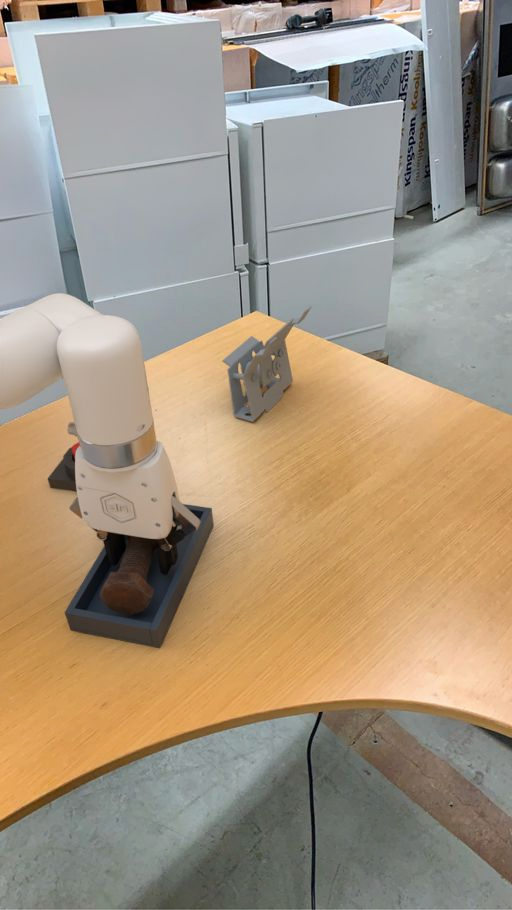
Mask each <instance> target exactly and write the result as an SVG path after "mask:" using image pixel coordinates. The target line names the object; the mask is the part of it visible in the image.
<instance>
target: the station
mask: <svg viewBox="0 0 512 910" xmlns="http://www.w3.org/2000/svg"><path fill="white" fill-rule="evenodd" d="M74 445H75V444H73V445H72V446H70V448H68V449H67V451H66V452H65V453H64V454H63V456H62V457H63V458H62V460H60V462H59V463H58V464H57V466H55V468H54V469H53V471H52V472H51V473H50V474H49V476H48V477H47V482H48V485H49V487H50V489H56V490H63V491H71V492H76V493H77V489H76V479H75V459H74V455H73V452H72V448H73V446H74Z"/></svg>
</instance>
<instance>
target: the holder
mask: <svg viewBox="0 0 512 910" xmlns="http://www.w3.org/2000/svg"><path fill="white" fill-rule="evenodd" d="M182 504H183V505H184V506H185V507H186V508H187V509H188V510H190V511H191V512H192V513H193V514H194V515H195V516H196V517H197V518H198V519H199V520H200V525H199V527H198V529H197V531H196V532H194V533H192V534H190V535H189V536H186V537H184V539H183V540H182V541H180V542H179V543H177V544H176V545H177V552H178V559H177V562H176V564H175V565H171V568H170V570H169V572H168V574H167V575H164V574H162V573H161V572H160V567H159V561H158V556H157V550H158V549H155V551H154V555H153V558H152V562H151V565H150V568H149V572H148V575H147V581H146V582H147V583H148V584H149V585H150V586H151V587H152V588H153V589H154V592H153V596H152V599H151V601H150V603H149V604H148V606H147V607H146V609H145V610H144V611H143V612H142V613H139V614H134V615H125V614H121V613H118V612H116V611H113V610H111V609H110V608H108V607H107V606H106V605H105V604H104V603H103V601H102V600H101V598H100V596H99V594H100V592H101V589H102V587H103V585H104V583H105V581H106V580H107V578H108V576H109V574H110V573H111V572H118V570H119V568H120V565H121V563H122V560H123V558H124V554H125V551H126V550H125V551H124V553H123V555H122V557H121V559H120V560H119V562H118V564H117V565H115V566H113V565H110V562H109V558H108V554H107V553H106V551H105V547H104V546H103V547H102V549H101V551H100V552H99V554H98V555H97V558H96V559H95V561H94V562H93V564H92V566H91V567H90V569H89V570H88V572H87V574H86V576H85V577H84V578H83V581H82V583H81V584H80V586H79V588H78V589H77V591H76V592H75V594H74V595H73V597H72V599H71V601H70V602H69V604H68V606H67V607H66V609H65V611H64V615H65V616H64V617H65V618H66V619H65V620H66V622H67V625H68V627H69V631H72V632H77V633H81V634H86V635H87V634H88V635H91V636H98V637H102V638H107V639H113V640H117V641H122V642H127V643H132V644H135V645H136V644H137V645H143V646H145V647H146V646H147V647H150V648H151V647H152V648H157V649H161V647H162V646H163V643H164V641H165V638H166V636H167V634H168V632H169V629H170V627H171V625H172V622H173V620H174V618H175V616H176V613H177V611H178V609H179V606H180V604H181V602H182V600H183V598H184V595H185V593H186V591H187V588H188V585H189V583H190V581H191V578H192V576H193V574H194V572H195V570H196V568H197V565H198V563H199V560H200V558H201V555H202V554H203V552H204V549H205V547H206V544H207V542H208V539H209V537H210V535H211V533H212V531H213V528H214V517H213V516H214V515H213V510H212V507H207V506H200V505H194V504H193V505H192V504H188V503H187V504H185V503H182ZM173 522H174V523H175V525H177V524H179V522H178V521H177V520H176V519H175V518H174V517H173ZM123 535H124V534H123ZM124 539H125V544H126V548H127V545H128V542H129V540H128V539H127V537H126V535H124Z"/></svg>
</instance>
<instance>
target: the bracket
mask: <svg viewBox="0 0 512 910" xmlns="http://www.w3.org/2000/svg"><path fill="white" fill-rule="evenodd" d="M312 307H313V306H311V305H310V306H309V307H307V308H305V310H304V312H303V313H302V315H301V317H298V318H294V317H292V318H291V319H289V320H288V321H287V322H286V323H285V324H284V325H282V327H281V328H279V330H277V331H276V332H275V333H274V334H273V335H272V336H270V337H269V338H268V339H267V340H266V341H265V343H264V342H263V340H258V339H257V338H256V337H254V336H253V335H251V336H249V337H248V338H247V339H246V340H245V341H243V342H242V343H241V344H240V345H238V347H236V348H235V349H234V350H233V351H232V352H230V353H229V354H228V355H227V356H226V357H225V358H223V359H222V363H223V364H225V365H226V366H228V367H229V368H227V377H228V384H229V391H230V399H231V405H232V406H231V407H232V413H233V416H234V417H235V418H238V419H241V420H245V421H248V422H251V423H254V422H255V421H256V420H257V419H258V418H259V417H260V416H261V415H262V414H263V413H264V411H265V413H268V412H269V411H271V409H272V408H274V406H275V405H276V404H277V403H278V402H279V401H280V400H281V398H283V397H284V391H285V390H287V388H288V387H289V386H290V385H292V383H293V382H294V378H293V374H292V369H291V364H290V359H289V355H288V354H289V353H288V348H287V344H286V339H287V337H288V335H289V334H290V332H291V331H292V329H293V327H294V326H295V325H299V324H301V322H302V321H303V320H305V318H306V317H307V315H308V314H309V312H310V311H311V308H312ZM253 353H254V356H253ZM272 356H273V357H274V358H273V357H272ZM239 365H240V372H241V373H240V372H239ZM277 376H279V377H277ZM242 381H243V386H244V389H245V391H244V393H243V387H242ZM265 387H266V388H267V389H266V390H265V391H264V392H263V394H262V389H263V388H265ZM246 404H248V405H249V406H247V405H246Z"/></svg>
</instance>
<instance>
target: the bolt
mask: <svg viewBox="0 0 512 910" xmlns="http://www.w3.org/2000/svg"><path fill="white" fill-rule="evenodd" d="M126 537H127V539H128V540H129V542H128V545H127V548H126V551H125V554H124V558H123V560H122V563H121V565H120V568H119V570H118V572H111V573H110V574H109V576H108V578H107V580H106V581H105V583H104V585H103V587H102V589H101V592H100V594H99V596H100V598H101V600H102V601H103V603H104V604H105V605H106V606H107V607H108V608H110V609H111V610H113V611H116V612H118V613H121V614H125V615H134V614H139V613H142V612H143V611H144V610H145V609H146V607H147V606H148V604H149V603H150V601H151V599H152V596H153V592H154V589H153V588H152V587H151V586H150V585H149V584H148V583H147V582H146V581H147V575H148V572H149V568H150V565H151V562H152V558H153V555H154V551H155V549H158V548H159V544H158V542H157V541H156V539H150V538H143V537H136V536H130V535H126Z"/></svg>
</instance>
